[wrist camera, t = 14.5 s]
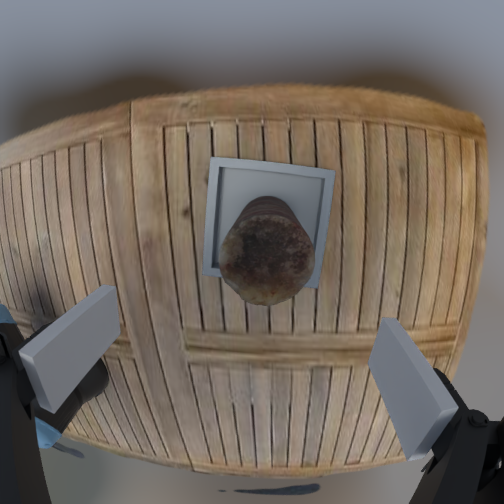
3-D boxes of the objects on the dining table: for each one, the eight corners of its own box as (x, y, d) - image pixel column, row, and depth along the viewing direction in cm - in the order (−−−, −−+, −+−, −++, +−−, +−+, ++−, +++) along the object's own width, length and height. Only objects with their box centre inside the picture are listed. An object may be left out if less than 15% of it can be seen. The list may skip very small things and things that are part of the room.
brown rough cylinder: (283, 185, 39) (295, 199, 19) (303, 235, 40) (330, 292, 21) (232, 207, 40) (194, 240, 21) (252, 255, 42) (236, 326, 22)
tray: (206, 268, 43) (202, 274, 40) (215, 157, 39) (210, 156, 36) (314, 280, 43) (317, 288, 40) (330, 170, 38) (335, 170, 35)
